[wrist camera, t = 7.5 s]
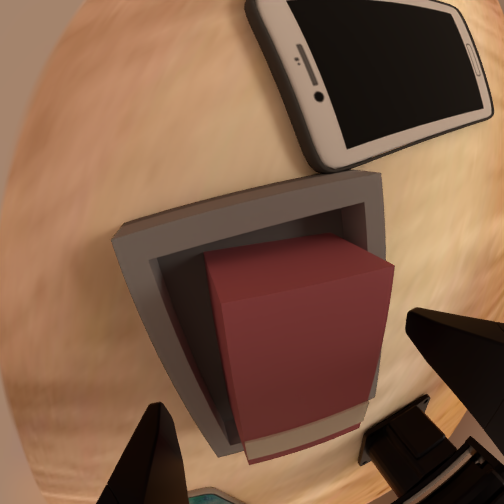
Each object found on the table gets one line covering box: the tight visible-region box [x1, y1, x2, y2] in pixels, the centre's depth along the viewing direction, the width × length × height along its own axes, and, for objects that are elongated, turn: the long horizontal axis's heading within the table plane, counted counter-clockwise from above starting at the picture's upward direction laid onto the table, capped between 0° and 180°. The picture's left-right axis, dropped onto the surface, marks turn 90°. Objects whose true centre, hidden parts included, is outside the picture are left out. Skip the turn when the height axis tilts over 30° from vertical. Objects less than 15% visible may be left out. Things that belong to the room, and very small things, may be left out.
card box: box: [203, 233, 395, 465], centre depth 9 cm, size 7×4×4 cm, turn 4°
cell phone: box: [244, 0, 494, 174], centre depth 9 cm, size 8×15×1 cm, turn 111°
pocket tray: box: [111, 169, 386, 457], centre depth 10 cm, size 11×8×2 cm
